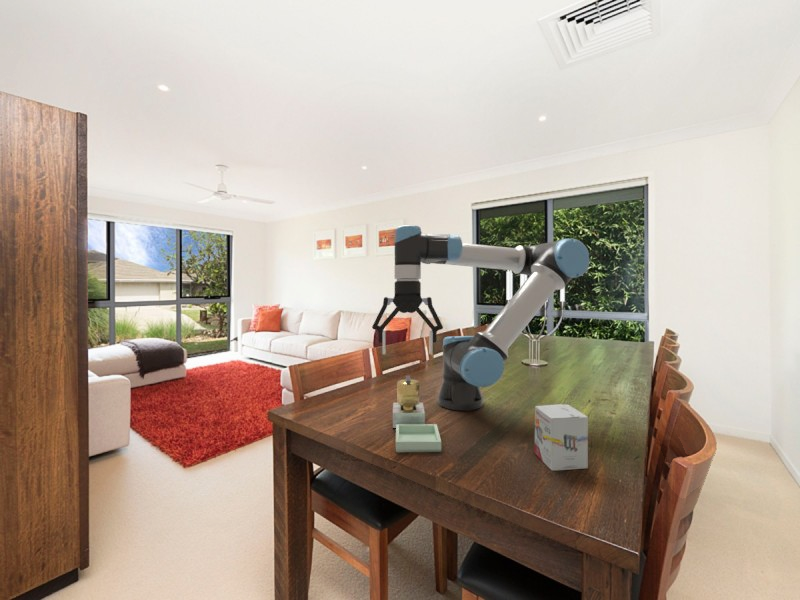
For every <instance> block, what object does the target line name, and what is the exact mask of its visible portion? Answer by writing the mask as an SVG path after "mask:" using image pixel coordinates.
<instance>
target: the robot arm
mask: <svg viewBox="0 0 800 600" xmlns="http://www.w3.org/2000/svg"><path fill="white" fill-rule="evenodd" d="M462 241H463V240H462V238H461V237H460V236H459V235H457V234H450V233H448V234H439V233H438V234H435V233H433V234H431V233H422V229H421V226H419V225H413V224H409V225H408V224H407V225H405V224H404V225H399V226H397V227H396V228H395V231H394V242H393V243H394V279H395V280H396V281H395V282H394V296H393V298H391V297H388V296H385V297H384V298H383V303H382V305H381V306H382V307H381V309H380V310H379V312H378V314H377V316H376V318H375V320H374V323H373V325H372V326H371V327H372V330H375V331H377V333H378V342H379V343H381V345H382V346H381V347H382V352H381V353H382V355H386V330H384V329H385V328H386V327H387V326H388V324H390V323H391V321H392V320H393V319H394V318H395V316H396V315H398V313H399V312H400V313H402V314H406V313H410V314H414V313H415V312H416V313H417V314H418V315H419V316H420V317H421V319H422V320H423V322H425V323H426V324H427V325H428V327H429V328H430V329H431V330H429V333H428V334H429V335H428V339H429V341H428V344H429V345H428V348H429V349H428V353H429V355H431V356H433V355H434V354H433V351H434V350H433V343H437V337H438V335H437V332H438V331H440V330H443V328H444V326H443V324H442V322H441V319H440V318H439V315H438V313H437V311H436V310H435V307H434V306H433V301H432V297H430V296H427V297H423V298H422V296H421V295H422V294H421V291H422V290H421V289H422V288H421V286H422V285H421V284H422V283H421V282H420V280H421V279H422V277H421V276H422V274H421V273H422V266H421V265H422V264H425V265H430V264H434V265H435V264H436V265H447V266H448V265H450V266H461V267H462V266H463V267H472V268H473V267H474V268H482V269H483V268H484V269H493V270H506V271H511V272H512V273H514V274H518V275H525V276H528V277H527V279H526V280H525V281H524V283H522V285H521V286H520V287H519V288H518V290H517V291H516V292H515V293H514V295H512V297H511V298H510V299H509V301H508V302H507V303H506V304H505V306H503V308H502V309H501V311H499V313H498V314H497V315H496V317H495V318H494V319H493V320H492V321H491V323H490V324H489V325H488V326H487V327H486V328H485V329H484V330H483V331H478V332H476V333H475V334H474V335H457V336H456V335H454V336H452V335H451V336H446V337H444V338H443V340H442V341H443V342H442V382H441V385H440V387H439V391H438V393H437V394H438V395H437V405H439V406H440V405H441V406H440V407H442V406H443V407H442V408H444V407H445V409H448V410H453V411H462V412H463V411H465V412H466V411H474V410H478V409H480V408H482V407H483V406H484V398H483V394H482V390H481V388H486V387H487V388H488V387H490V386H493V385H495V384H496V383H498V381H499V380H501V378H502V376H503V374H504V371H505V367H504V366H505V362H506V361H507V359H508V358H509V353H508V351H509V348H510V347H511V346H512V344H514V342H515V341H516V339H518V337H519V336H520V335H521V333H522V332H524V330H525V329H526V327H527V326H528V324H529V323H530V322H531V321H532V319H534V317H535V316H536V315H537V313H538V312H539V311H540V310H541V308H542V307H543V306H544V305H545V304H546V302H547V301H548V300H549V298H551V296H552V295H553V293H554V292H555V291H558V290H563V289H564V288H565V287H566V286H567V285H568V283H570V281H571V280H572V279H574V278H575V279H576V278H579V277H581V276H583V275H584V274H585V273H586V272H587V271H588V268H589V266H590V260H591V259H590V252H589V250H588V248H587V247H586V245H585V243H583V242H582V241H580V240H578V239H576V238H561V239H560V240H556V241H551V242H550V241H549V242H544V243H540V244H535V245H516V247H505V246H497V245H495V246H494V245H485V244H476V243H465V242H462ZM391 303H393V305H395V308H394V309H393V311H392V312H391V313H390V314H389V315H388V316H387V318H386V319H384V322H383V323H382V324H381V325H380V321H381V319H382V317H383V316H384V313H385V312H386V310H387V308H388V306H389V305H391ZM422 303H424V305H425V306H427V307H428V310H429V312H430V314H431V316H432V317H433V320H434V322H435V324H436V325H434V323H432V321H431V319H429V318H428V317H427V315H426V314H425V313H424V312H423V311H422V310H421V308H420V306H421V305H422Z"/></svg>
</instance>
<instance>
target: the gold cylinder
mask: <svg viewBox="0 0 800 600" xmlns="http://www.w3.org/2000/svg"><path fill="white" fill-rule="evenodd" d="M396 385H397V387H396V388H397V391H396V393H397V395H396V396H397V397H396V399H397V402H396V403H398V404H399V405H402V406H403V410H414V409H413V406H415V405H418V404H419V403H420V381H419V380H418V379H417V380H416V379H412V378H411V375H405V379H399V380H397V382H396Z"/></svg>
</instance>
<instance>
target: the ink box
mask: <svg viewBox="0 0 800 600" xmlns="http://www.w3.org/2000/svg"><path fill="white" fill-rule="evenodd" d="M534 414H535V415H534V454H535V455H536V456H537V457H538V458H539V459H540V461H542V462H543V463H544V464H545V465H546V466H547V468H549V469H550V470H551V471H552V472H553V471H554V472H555V471H565V470H566V471H567V470H568V471H569V470H580V469H581V470H583V469H588V466H589V464H588V462H589V459H588V456H589V455H588V453H589V452H588V450H589V441H588V440H589V416H587V415H586V414H584V413H583V412H581V411H579V410H578V409H576V408H575V407H573V406H571V405H570V404H562V403H558V404H555V403H554V404H545V405H535V406H534Z"/></svg>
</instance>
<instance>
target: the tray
mask: <svg viewBox="0 0 800 600" xmlns="http://www.w3.org/2000/svg"><path fill="white" fill-rule="evenodd" d="M395 453H442V439H441V435H440V432H439V428H438V424H437V423H425V424H396V429H395Z"/></svg>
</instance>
